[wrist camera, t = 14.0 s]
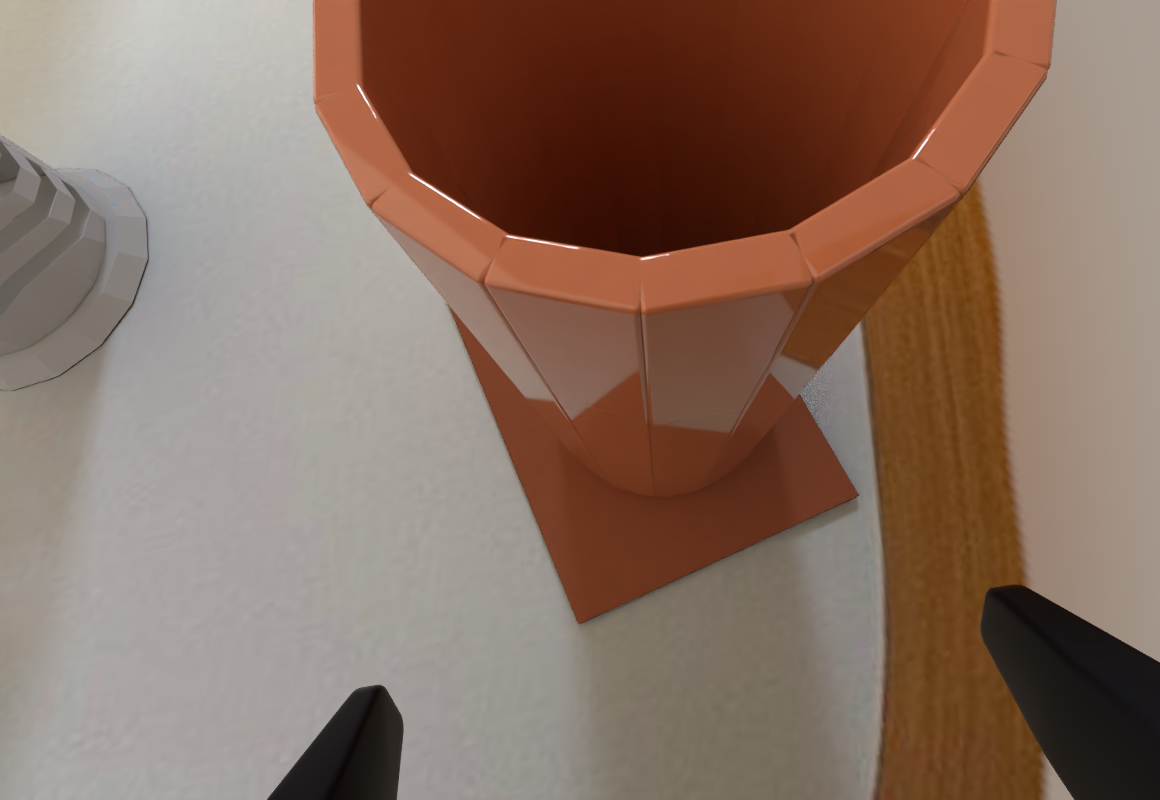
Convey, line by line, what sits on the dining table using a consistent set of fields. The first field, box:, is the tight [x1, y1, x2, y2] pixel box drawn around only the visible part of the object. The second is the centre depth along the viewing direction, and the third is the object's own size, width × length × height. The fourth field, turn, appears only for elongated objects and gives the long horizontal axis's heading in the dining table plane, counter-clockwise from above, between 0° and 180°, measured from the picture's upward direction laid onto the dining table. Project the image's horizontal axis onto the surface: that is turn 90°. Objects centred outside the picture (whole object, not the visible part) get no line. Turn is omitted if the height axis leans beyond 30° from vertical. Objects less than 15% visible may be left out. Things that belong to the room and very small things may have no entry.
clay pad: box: [450, 307, 859, 624], centre depth 19 cm, size 12×9×1 cm
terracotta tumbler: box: [313, 0, 1057, 497], centre depth 12 cm, size 7×7×14 cm
